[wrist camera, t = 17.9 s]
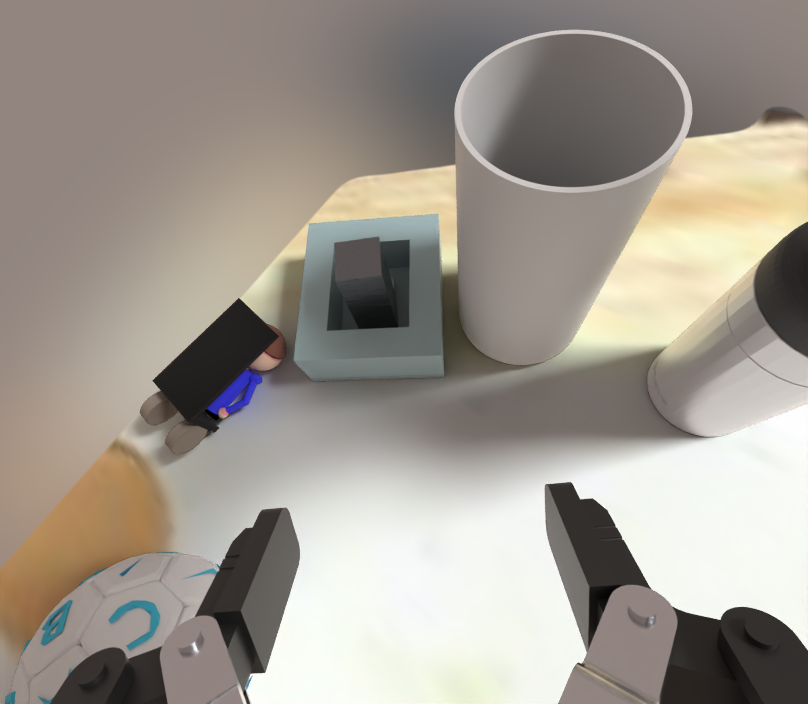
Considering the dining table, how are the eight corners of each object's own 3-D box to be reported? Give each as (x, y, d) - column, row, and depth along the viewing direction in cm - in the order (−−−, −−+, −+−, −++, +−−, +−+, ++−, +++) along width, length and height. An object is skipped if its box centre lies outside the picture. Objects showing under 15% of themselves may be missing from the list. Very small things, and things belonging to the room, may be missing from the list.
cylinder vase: (594, 355, 44) (733, 164, 22) (471, 377, 45) (479, 214, 22) (559, 254, 49) (642, 11, 27) (449, 275, 50) (437, 56, 27)
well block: (441, 248, 52) (438, 213, 46) (444, 377, 46) (441, 355, 40) (324, 255, 53) (309, 223, 48) (313, 381, 47) (293, 360, 42)
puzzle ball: (161, 799, 35) (-34, 968, 21) (95, 622, 41) (-93, 666, 27) (316, 663, 37) (230, 737, 24) (233, 514, 43) (124, 503, 29)
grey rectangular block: (399, 331, 47) (381, 275, 37) (362, 335, 47) (335, 281, 37) (395, 283, 50) (377, 218, 39) (360, 287, 50) (334, 224, 40)
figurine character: (211, 463, 47) (308, 355, 48) (159, 457, 40) (274, 330, 41) (176, 422, 49) (269, 320, 51) (120, 409, 42) (231, 291, 43)
